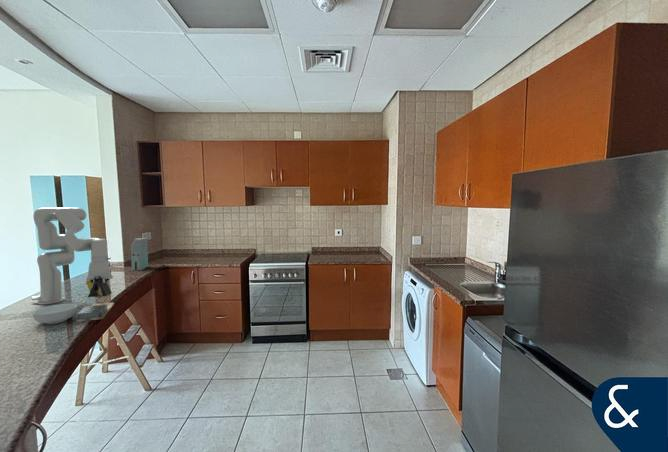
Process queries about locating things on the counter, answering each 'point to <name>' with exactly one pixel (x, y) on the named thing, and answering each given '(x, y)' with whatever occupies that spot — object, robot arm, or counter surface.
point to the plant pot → (91, 286)
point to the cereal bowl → (55, 313)
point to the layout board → (109, 306)
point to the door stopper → (104, 288)
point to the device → (139, 253)
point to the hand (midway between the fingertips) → (100, 289)
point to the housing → (92, 312)
